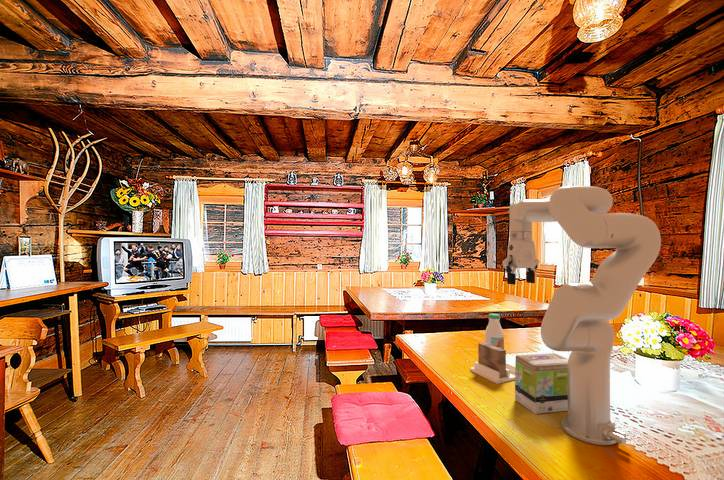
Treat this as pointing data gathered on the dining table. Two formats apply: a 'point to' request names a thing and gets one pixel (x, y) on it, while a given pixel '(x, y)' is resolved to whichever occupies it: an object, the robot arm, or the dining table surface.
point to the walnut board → (492, 357)
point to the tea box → (541, 382)
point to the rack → (494, 373)
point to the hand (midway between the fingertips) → (521, 283)
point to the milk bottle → (494, 332)
